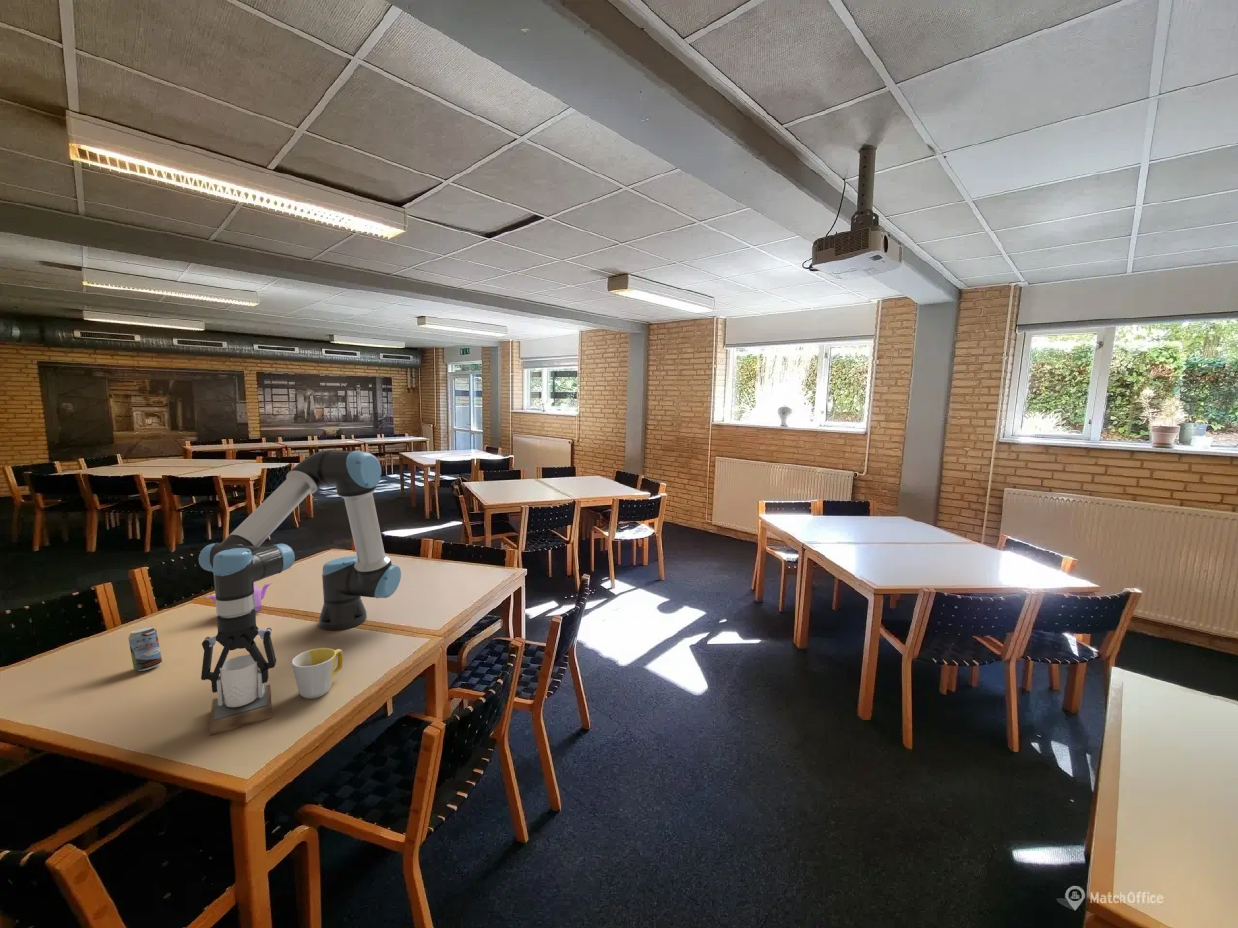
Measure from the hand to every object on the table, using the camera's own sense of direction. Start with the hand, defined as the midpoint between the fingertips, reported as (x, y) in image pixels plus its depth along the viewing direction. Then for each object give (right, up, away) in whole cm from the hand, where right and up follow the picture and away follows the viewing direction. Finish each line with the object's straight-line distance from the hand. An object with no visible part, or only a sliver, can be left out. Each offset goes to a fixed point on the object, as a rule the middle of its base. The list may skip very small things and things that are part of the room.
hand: (242, 698), depth 124 cm
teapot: (-45, +3, +59) cm, 74 cm away
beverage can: (-44, -1, +21) cm, 49 cm away
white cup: (0, -1, 0) cm, 1 cm away
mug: (+13, -3, +12) cm, 18 cm away
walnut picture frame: (0, -4, 0) cm, 4 cm away
